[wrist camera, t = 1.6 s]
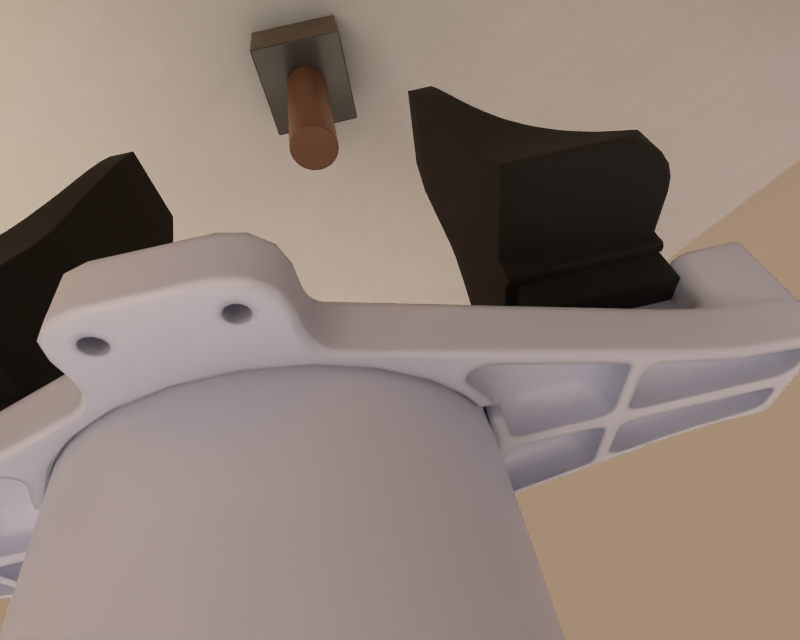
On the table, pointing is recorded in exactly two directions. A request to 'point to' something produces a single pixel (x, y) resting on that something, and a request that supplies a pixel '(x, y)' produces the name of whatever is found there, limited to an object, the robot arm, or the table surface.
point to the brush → (305, 86)
